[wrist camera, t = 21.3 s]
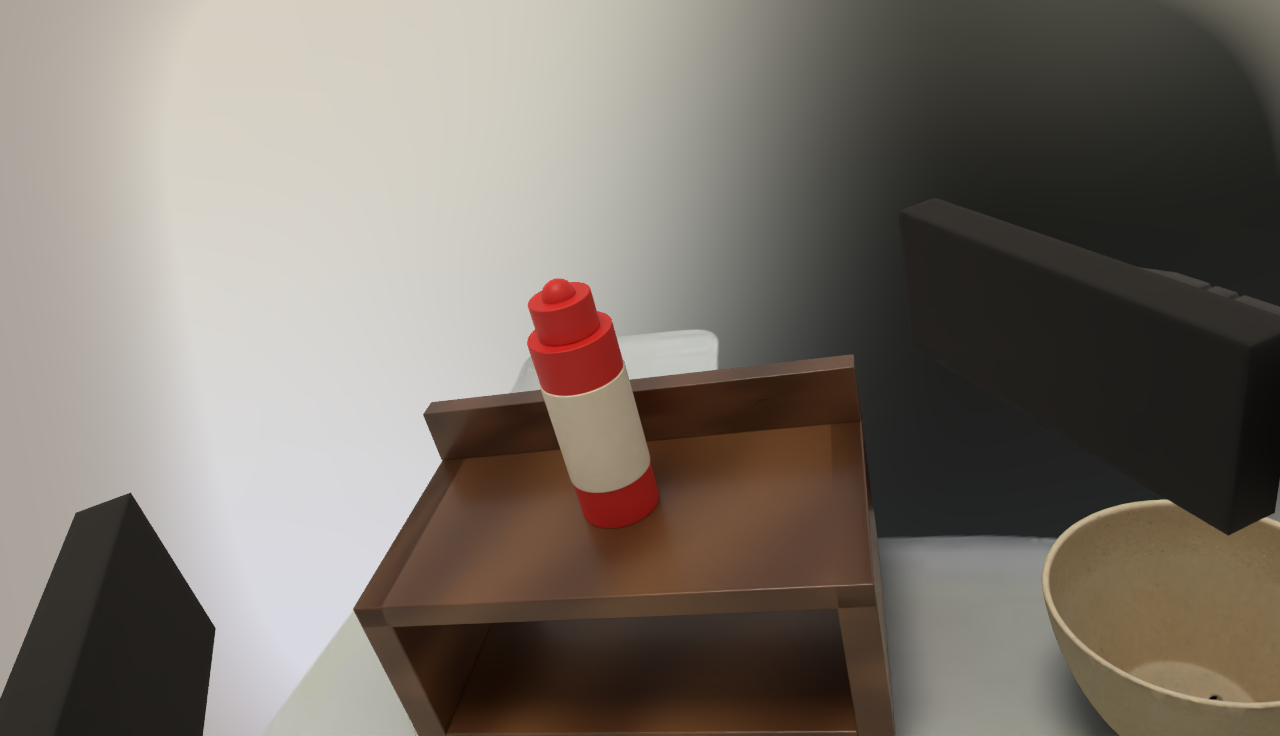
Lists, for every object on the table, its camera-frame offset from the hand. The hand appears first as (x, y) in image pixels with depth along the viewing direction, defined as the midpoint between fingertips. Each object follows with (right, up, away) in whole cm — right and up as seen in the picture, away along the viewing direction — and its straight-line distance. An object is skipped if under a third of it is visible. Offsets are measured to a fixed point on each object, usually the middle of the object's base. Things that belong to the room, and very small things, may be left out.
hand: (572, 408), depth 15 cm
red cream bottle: (0, -6, +26) cm, 26 cm away
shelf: (+2, -13, +30) cm, 33 cm away
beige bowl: (+23, -13, +20) cm, 33 cm away
